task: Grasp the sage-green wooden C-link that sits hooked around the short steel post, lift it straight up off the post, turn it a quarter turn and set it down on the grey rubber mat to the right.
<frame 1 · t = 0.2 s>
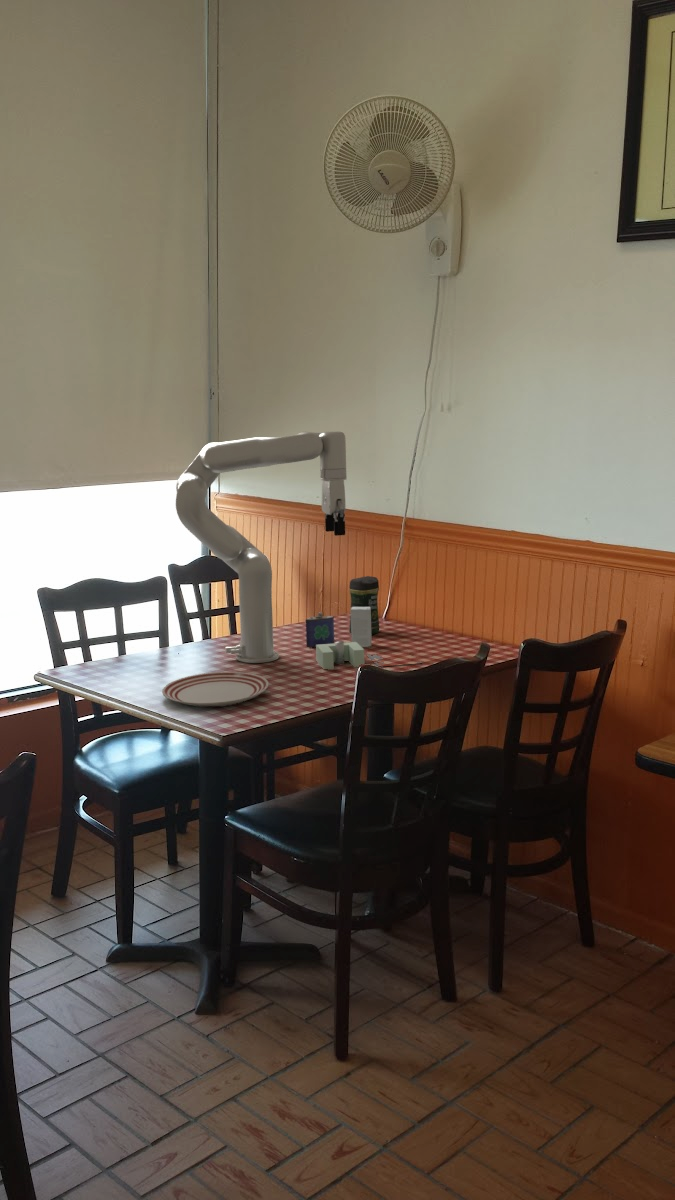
hand: (335, 533, 314), 36 cm above the table, tool pointing down, fingers open, 9 cm apart
post: (340, 663, 308), on the table
mat: (393, 659, 311), on the table
c link: (339, 663, 308), on the table
skincare box: (361, 646, 329), on the table
dinner plate: (216, 698, 278), on the table
coffee jar: (364, 634, 345), on the table
flask: (320, 646, 330), on the table
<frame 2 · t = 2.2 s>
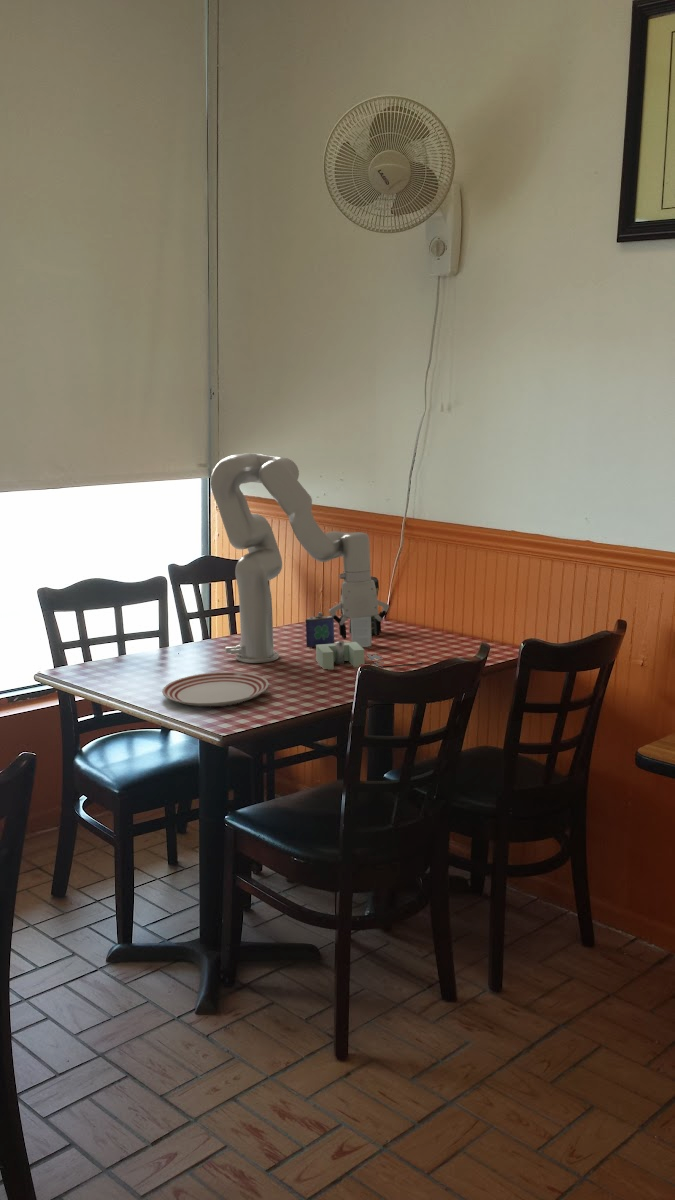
hand: (360, 636, 303), 9 cm above the table, tool pointing down, fingers open, 9 cm apart
nothing on the table moved.
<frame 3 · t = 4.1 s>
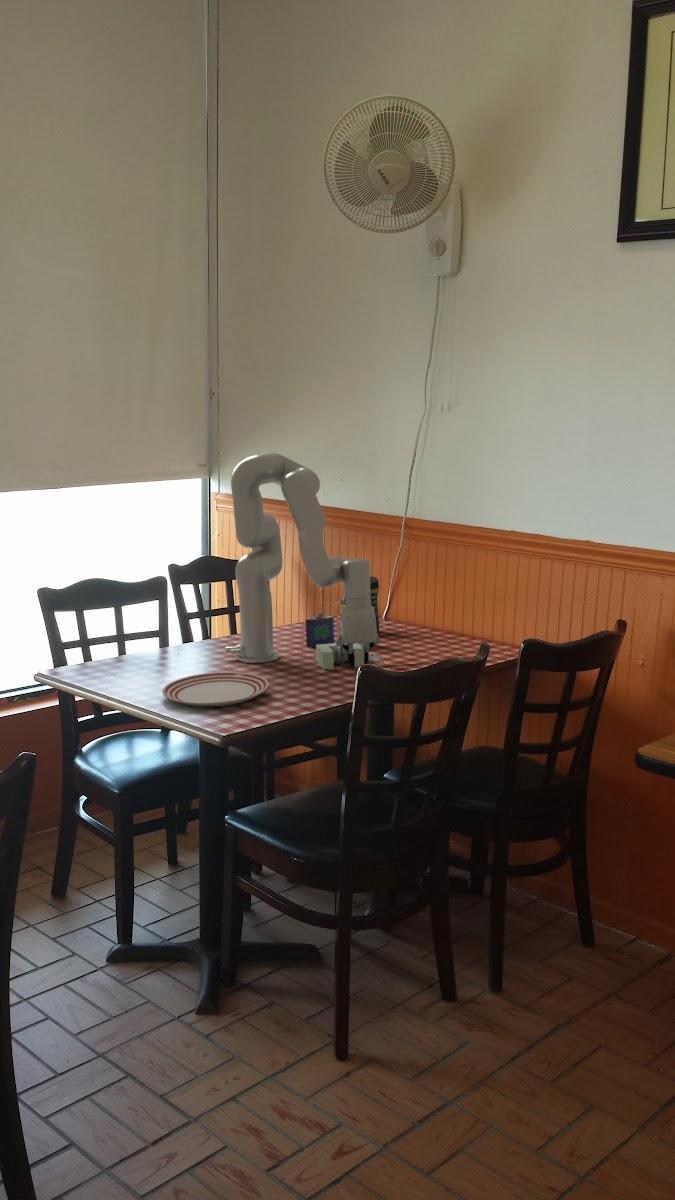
hand: (358, 665, 305), 0 cm above the table, tool pointing down, fingers closed on c link, 3 cm apart
c link: (339, 663, 308), on the table, touching gripper
everything else where it was.
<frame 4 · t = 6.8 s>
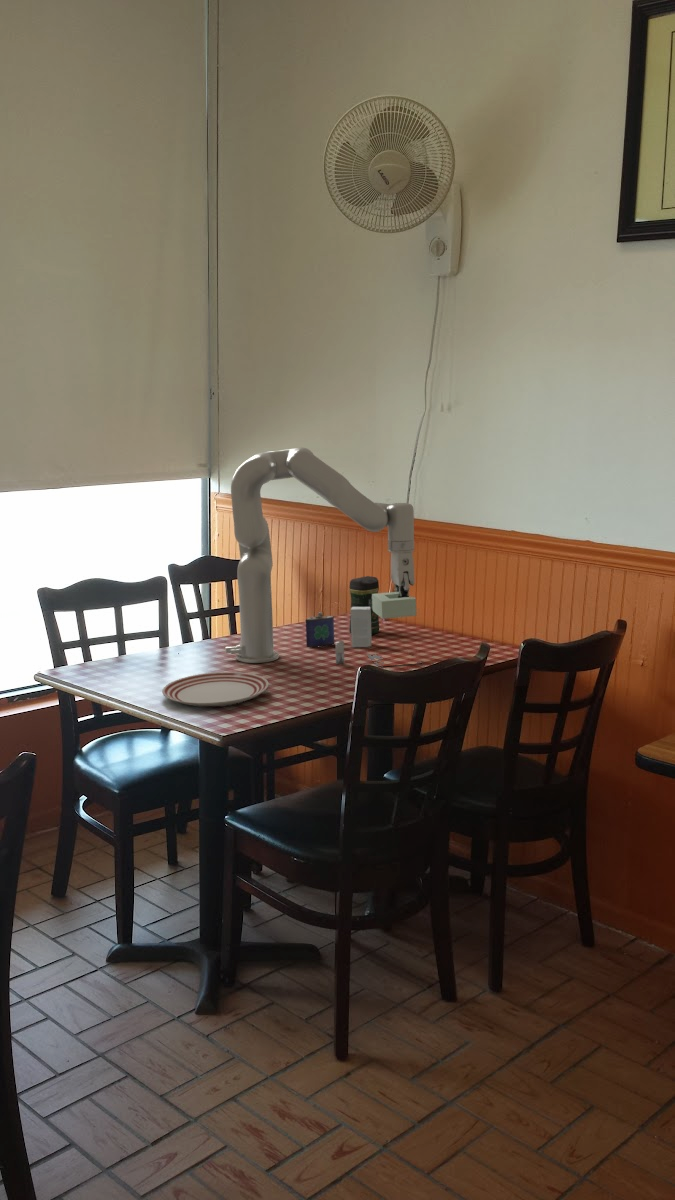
hand: (402, 607, 313), 14 cm above the table, tool pointing down, fingers closed on c link, 3 cm apart
c link: (392, 613, 308), point 14 cm above the table, touching gripper
everything else where it was.
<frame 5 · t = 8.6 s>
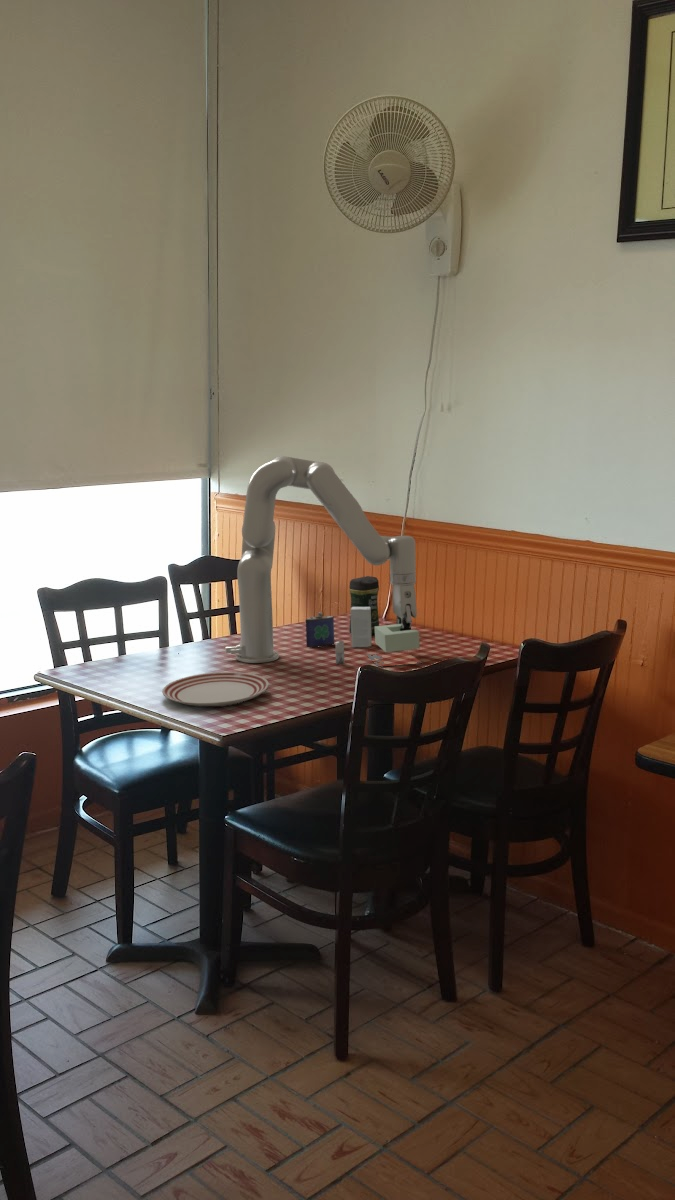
hand: (404, 639, 315), 5 cm above the table, tool pointing down, fingers closed on c link, 3 cm apart
c link: (395, 645, 310), point 4 cm above the table, touching gripper
everything else where it was.
when the fingers open (2 cm above the table, at t = 9.9 s): c link stays where it is, resting on mat.
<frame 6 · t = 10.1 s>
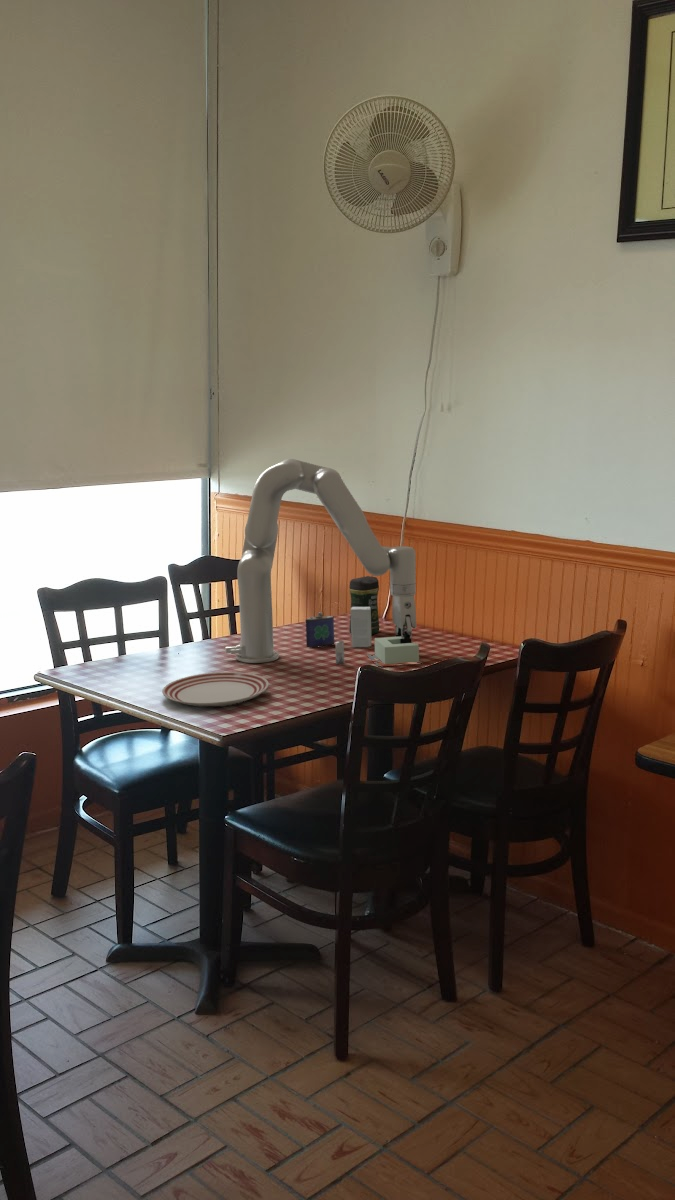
hand: (403, 649, 316), 2 cm above the table, tool pointing down, fingers open, 4 cm apart
c link: (394, 658, 311), resting on mat
everything else where it was.
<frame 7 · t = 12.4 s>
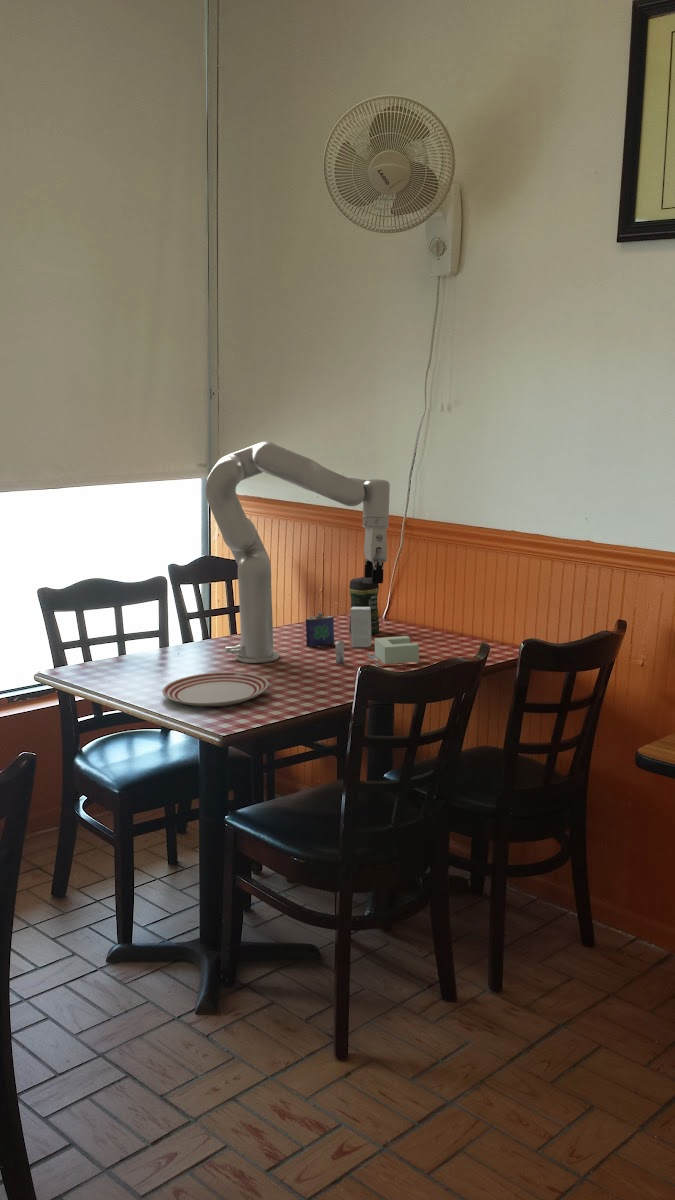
hand: (373, 580, 314), 22 cm above the table, tool pointing down, fingers open, 9 cm apart
nothing on the table moved.
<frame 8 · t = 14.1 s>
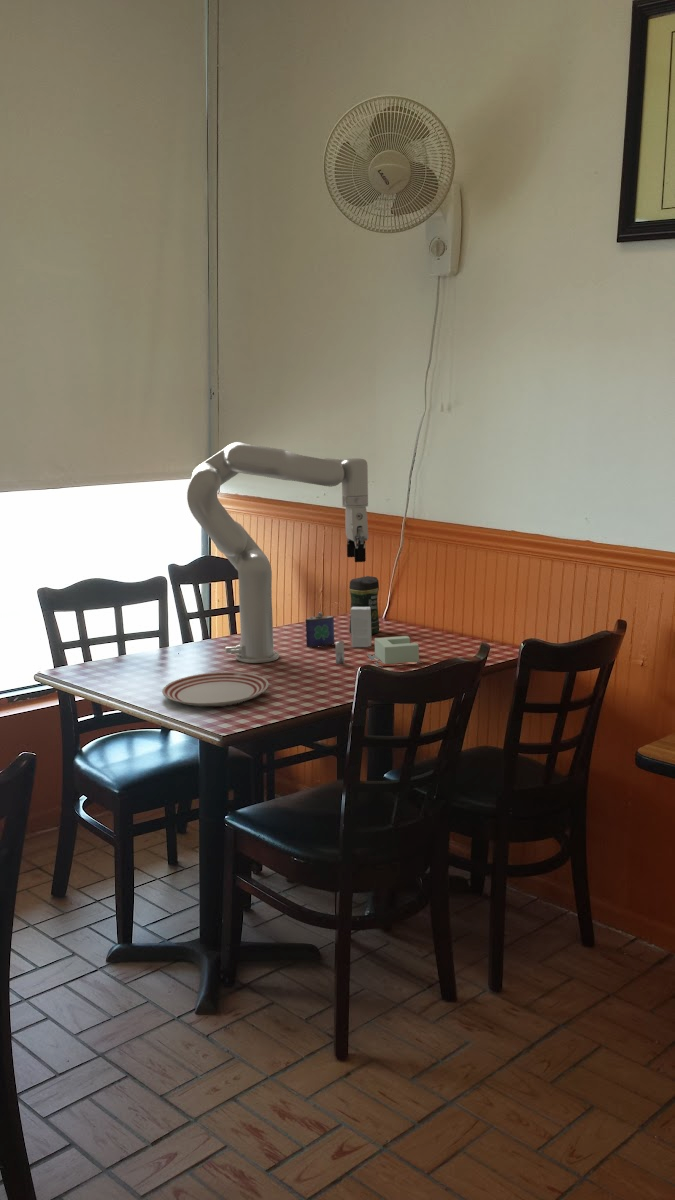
hand: (356, 559, 315), 28 cm above the table, tool pointing down, fingers open, 9 cm apart
nothing on the table moved.
at the end: c link inside the target area on the mat (0.3 cm from its centre), point 0.4 cm above the mat's base; c link touching mat; c link tilted 0° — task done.
